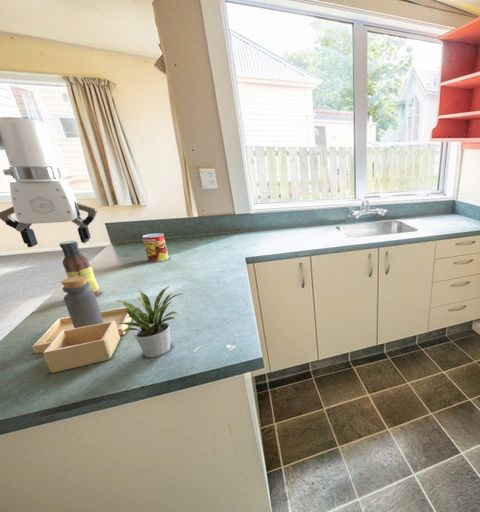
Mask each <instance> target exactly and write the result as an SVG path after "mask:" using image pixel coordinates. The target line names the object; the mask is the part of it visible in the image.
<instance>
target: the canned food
mask: <svg viewBox="0 0 480 512" xmlns="http://www.w3.org/2000/svg"><path fill="white" fill-rule="evenodd" d="M142 241H143V244H144V250H145V252H146V253H145V254H146V257H147V260H148V262H150V263H158V262H164V261H167V260H168V259H169V258H170V257H169V253H168V248H167V244H166V239H165V235H164V233H161V232H157V233H155V232H154V233H148V234H144V235H142Z"/></svg>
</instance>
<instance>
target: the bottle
mask: <svg viewBox="0 0 480 512" xmlns="http://www.w3.org/2000/svg"><path fill="white" fill-rule="evenodd" d="M60 283H61V285H63V287H62V291H63V293H67V294H65V295H64V296H63V300H64V303H65V306H66V309H67V312H68V314H69V317H71V320H72V323H73V326H74V328H79V327H84V326H89V325H95V324H100V323H104V322H103V319H102V316H101V312H100V311H101V310H100V306H99V303H98V300H97V296H95V294H94V291H92V290H89V289H88V287H90V284H89V283H88V282H86V277H85V276H76V277H71V278H68V277H67V278H65V279H64V278H63V279H62V280H61V281H60Z"/></svg>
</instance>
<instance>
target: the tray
mask: <svg viewBox="0 0 480 512" xmlns="http://www.w3.org/2000/svg"><path fill="white" fill-rule="evenodd" d="M100 312H101V316H102V319H103V322H104V323H105V322H110V321H115V322H116V325H117V329H118V332H119V335H120V337H122V336H125V334H126V332H127V331H124V332H122V331H123V330H125V329H127V328H129V326H130V325H126V324H118V323H124V322H131V321H132V320H133V319H132V318H131V317H129V315H128V313H127V307H126V306H123V307H118V308H112V309H106V310H100ZM111 312H114V313H111ZM118 312H121V313H118ZM124 313H125V314H124ZM73 328H74V326H73V323H72V320H71V317H70V316H67V317H61V318H57V319H56V321H55V322H54V323H53V324H52V325H51V326H50V327H49V328H48V329H47V330H46V331H45V332H44V333H43V334H42V336H41V337H39V339H38V340H36V342H35V343H34V344H33V345H32V346H31V347H32V350H33V351H34V352H33V353H34V354H35V355H36V354H40V353H43V352H44V351H45V350H46V349H47V348H48V347H49V345H50V344H51V343H52V342H53V341H54V340H55V338H56V337H57V336H58V335H59V334H60V332H61V331H63V330H68V329H73ZM121 332H122V333H121Z"/></svg>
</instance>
